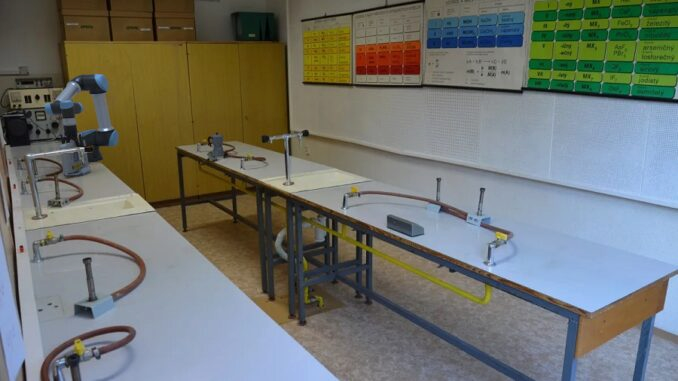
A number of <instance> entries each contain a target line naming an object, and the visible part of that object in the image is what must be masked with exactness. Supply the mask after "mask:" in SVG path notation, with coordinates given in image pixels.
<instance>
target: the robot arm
mask: <svg viewBox="0 0 678 381" xmlns="http://www.w3.org/2000/svg"><path fill="white" fill-rule="evenodd" d="M108 90H109V81H108V79H107V77H106V76H105V75H104V74H100V73H99V74H98V73H95V74H93V73H92V74H80V75H77V76H75V77H73V78H72V79H71V78H70V80H69V81H68V82H67V83H66V86H65V87H64V89H63V90H62V91H61V93H60V94H59V95H57V97H56V98H55V99H54V101H53V102H52V103H51V102H48V103H45V105H44V111H45V113H46V114H47V115H52V116H54V115H56V116H58V115H61V119H62V124H63V131H64V133H62V134H60V135H59V136H60V141H61V145H62V144H66V143H69V142H71V140H72V141H75V143H76V145H77V147H85V146H84V142H83V140H85V144H86V145H93V147H94V150H93V152H92V153H87V157H88V163H93V162H100V161H103V160H104V156H103V154H102V152H101V150H100V147H116V146H117V145H118V142H119V136H120V135H119V132H118V130H115V127H114V126H112V122H111V118H110V112H109V108H108V103H107V98H106V94H107V93H108V92H107V91H108ZM81 92H88V93H89V95H90V96H92V102H93V106H94V110H95V115H96V119H97V124H98V128H97V129H96V128H94V129H88V130H83V131H80V132H78V127H77V121H76V120H77V119H76V115H79V114H82V113H83V112H84V105H83V104H82V103H81V102H77V101H75V102H73V99H74V98H75V96H76V95H78V94H80V93H81ZM78 140H79V141H80V143H79V141H78ZM78 155H79V153H78ZM79 160H81V157H80V155H79Z"/></svg>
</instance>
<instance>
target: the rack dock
mask: <svg viewBox="0 0 678 381" xmlns="http://www.w3.org/2000/svg"><path fill="white" fill-rule="evenodd" d="M80 171H81V172H82V173H80V174H78V175H65V174H66V173H64V172H63V177H73V176H74V177H76V176H77V177H78V176H79V177H80V176H86V175H89V174H90V173H91V166H90V165H88V166H87V167H84V168H82V169H81V170H80ZM69 174H77V173H69Z"/></svg>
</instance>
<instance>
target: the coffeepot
mask: <svg viewBox="0 0 678 381" xmlns="http://www.w3.org/2000/svg"><path fill="white" fill-rule="evenodd" d="M224 137H225V135H220V134H219V132H215V134H214V135H211V136H208V137H207V138H206V139H207V142H208V145H209V147H211V148H212V157H223V156H225V151H224V148H223V144H224V143H223V141H224ZM211 142H212V144H211Z"/></svg>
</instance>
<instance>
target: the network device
mask: <svg viewBox="0 0 678 381" xmlns="http://www.w3.org/2000/svg"><path fill="white" fill-rule="evenodd" d="M78 141H79V139H78ZM83 142H84V146H86V144H85V140H83ZM79 143H80V141H79ZM74 147H77V145H76V143H75V141H74V140H72V141H70V142H69V143H66V142H65V144H62V143H61V144H60V145H59V151H60V150H62V149H68V148H74ZM60 158H61V164H62V165H61V166H62V171H63V174H64V173H66V174H65V175H78V174H80V173H82V172H81V171H80V170H81V169H82V168H85V167H87V166H89V162H88V157H87V153H85V154H84V164H83V162H82V159H81V160H79V155H78V152H74V153H63V154H61V153H60ZM69 173H77V174H69Z"/></svg>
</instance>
